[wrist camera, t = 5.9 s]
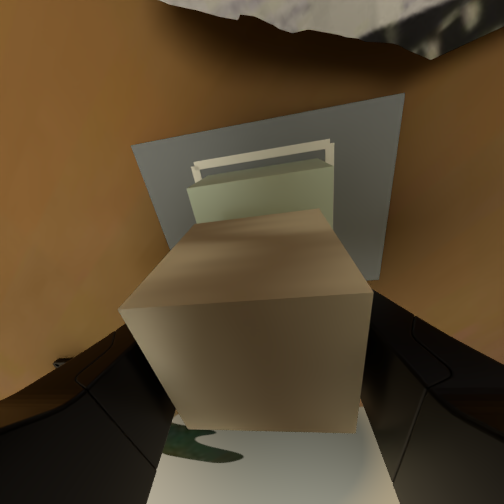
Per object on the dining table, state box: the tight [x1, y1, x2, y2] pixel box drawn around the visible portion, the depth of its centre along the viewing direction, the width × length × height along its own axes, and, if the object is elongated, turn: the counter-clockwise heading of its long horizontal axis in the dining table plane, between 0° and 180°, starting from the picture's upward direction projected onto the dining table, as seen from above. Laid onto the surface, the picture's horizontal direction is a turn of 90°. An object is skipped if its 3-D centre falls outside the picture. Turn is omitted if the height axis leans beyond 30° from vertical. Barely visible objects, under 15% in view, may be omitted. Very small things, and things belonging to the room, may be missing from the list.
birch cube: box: [118, 208, 374, 433], centre depth 7 cm, size 5×5×5 cm
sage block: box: [187, 158, 334, 229], centre depth 13 cm, size 7×7×4 cm
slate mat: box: [131, 93, 405, 281], centre depth 15 cm, size 16×12×1 cm
